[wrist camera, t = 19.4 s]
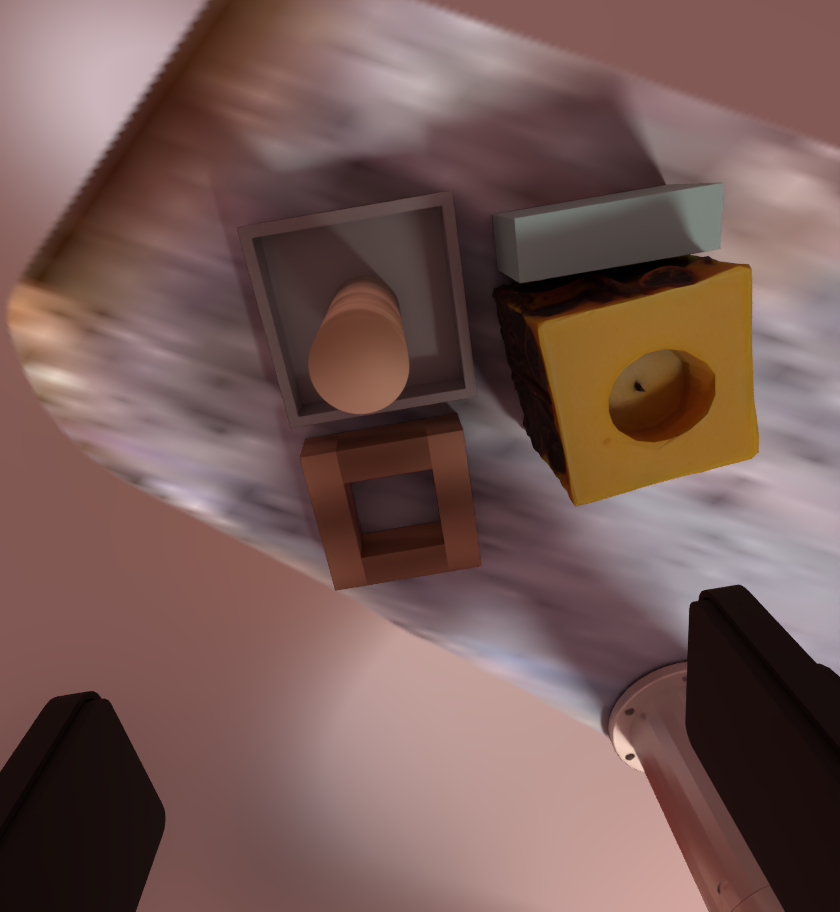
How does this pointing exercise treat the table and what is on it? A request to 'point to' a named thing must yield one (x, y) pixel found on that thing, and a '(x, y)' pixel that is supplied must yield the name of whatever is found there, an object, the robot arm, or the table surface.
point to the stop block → (608, 231)
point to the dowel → (360, 348)
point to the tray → (371, 255)
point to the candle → (634, 371)
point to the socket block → (383, 455)
